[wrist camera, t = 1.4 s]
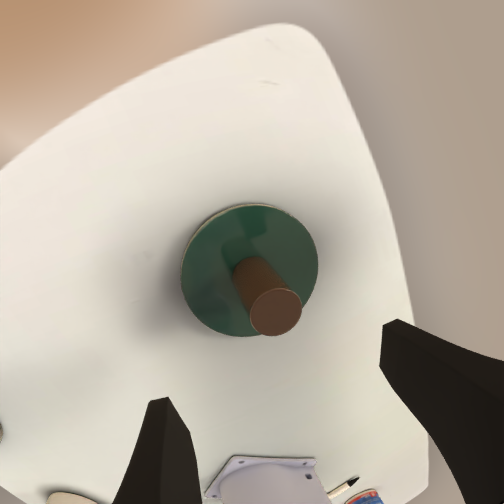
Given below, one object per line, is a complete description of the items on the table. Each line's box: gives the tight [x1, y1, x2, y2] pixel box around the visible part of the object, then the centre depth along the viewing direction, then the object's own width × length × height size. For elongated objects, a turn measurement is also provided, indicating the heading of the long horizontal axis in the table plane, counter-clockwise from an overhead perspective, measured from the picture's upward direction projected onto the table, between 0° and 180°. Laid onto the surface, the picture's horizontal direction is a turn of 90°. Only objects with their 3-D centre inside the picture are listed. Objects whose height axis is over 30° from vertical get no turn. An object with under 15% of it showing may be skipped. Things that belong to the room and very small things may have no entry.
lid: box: [180, 204, 318, 337], centre depth 16 cm, size 8×8×6 cm
